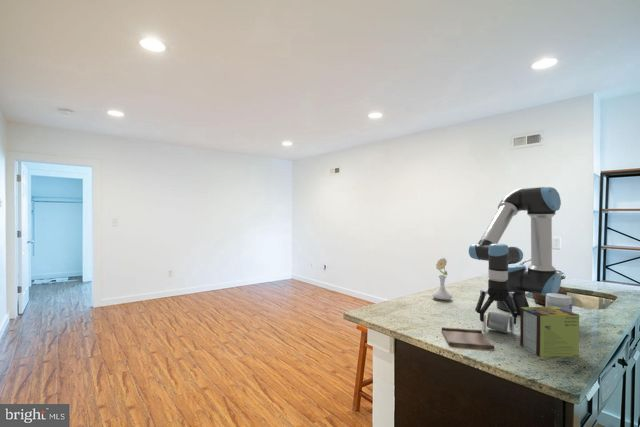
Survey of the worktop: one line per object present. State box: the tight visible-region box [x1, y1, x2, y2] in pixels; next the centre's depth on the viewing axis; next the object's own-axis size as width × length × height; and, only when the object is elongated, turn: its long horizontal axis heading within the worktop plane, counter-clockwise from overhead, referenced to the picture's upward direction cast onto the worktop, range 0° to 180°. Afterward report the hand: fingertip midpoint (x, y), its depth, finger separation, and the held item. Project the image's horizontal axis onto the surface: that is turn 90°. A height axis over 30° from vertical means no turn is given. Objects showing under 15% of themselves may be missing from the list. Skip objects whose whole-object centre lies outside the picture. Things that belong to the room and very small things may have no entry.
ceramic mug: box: [486, 311, 510, 334], centre depth 137 cm, size 11×8×8 cm
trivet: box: [441, 326, 495, 350], centre depth 128 cm, size 16×16×2 cm
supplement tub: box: [545, 293, 573, 312], centre depth 143 cm, size 10×10×15 cm
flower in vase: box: [432, 257, 453, 301], centre depth 188 cm, size 13×11×25 cm
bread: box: [531, 285, 568, 306], centre depth 190 cm, size 16×36×8 cm, turn 136°
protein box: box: [519, 306, 580, 358], centre depth 119 cm, size 10×15×16 cm
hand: (497, 329), depth 138 cm, fingers closed on ceramic mug, 10 cm apart
